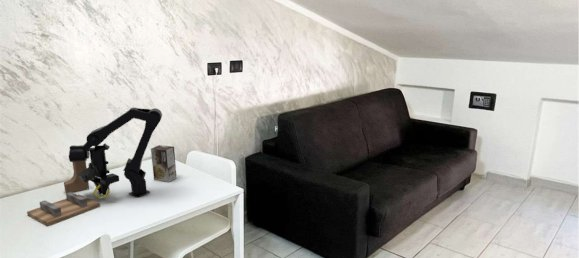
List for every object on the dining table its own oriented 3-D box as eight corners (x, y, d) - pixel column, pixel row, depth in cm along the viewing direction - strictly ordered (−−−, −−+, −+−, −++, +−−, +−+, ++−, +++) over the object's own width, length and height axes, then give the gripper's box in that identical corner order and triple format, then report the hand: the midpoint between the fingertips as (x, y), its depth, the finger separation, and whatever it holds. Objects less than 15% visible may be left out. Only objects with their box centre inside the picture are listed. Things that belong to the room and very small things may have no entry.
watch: (108, 194, 167) (107, 181, 166) (111, 196, 165) (110, 183, 164) (94, 198, 163) (93, 184, 162) (96, 199, 161) (96, 186, 160)
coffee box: (177, 177, 186) (174, 146, 183) (169, 182, 180) (166, 150, 177) (161, 175, 189) (159, 144, 186) (153, 180, 183) (150, 148, 180)
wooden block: (67, 194, 167) (61, 155, 163) (64, 191, 170) (59, 152, 166) (89, 188, 173) (84, 151, 169) (86, 186, 176) (81, 148, 172)
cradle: (100, 206, 155) (98, 196, 154) (47, 226, 139) (46, 215, 138) (79, 197, 163) (77, 187, 162) (27, 215, 147) (25, 204, 146)
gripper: (67, 161, 159) (72, 195, 162) (92, 169, 149) (96, 206, 152) (93, 154, 168) (97, 187, 171) (118, 162, 158) (122, 196, 161)
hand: (102, 194), depth 164 cm, fingers closed on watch, 2 cm apart
